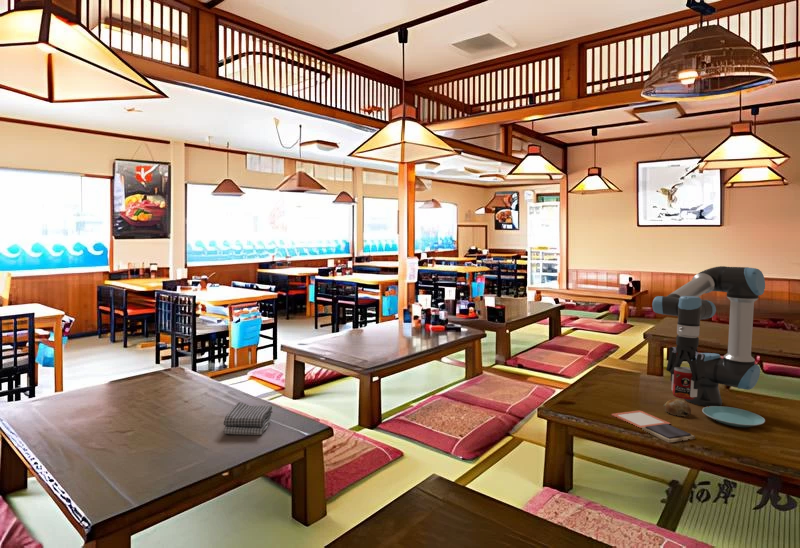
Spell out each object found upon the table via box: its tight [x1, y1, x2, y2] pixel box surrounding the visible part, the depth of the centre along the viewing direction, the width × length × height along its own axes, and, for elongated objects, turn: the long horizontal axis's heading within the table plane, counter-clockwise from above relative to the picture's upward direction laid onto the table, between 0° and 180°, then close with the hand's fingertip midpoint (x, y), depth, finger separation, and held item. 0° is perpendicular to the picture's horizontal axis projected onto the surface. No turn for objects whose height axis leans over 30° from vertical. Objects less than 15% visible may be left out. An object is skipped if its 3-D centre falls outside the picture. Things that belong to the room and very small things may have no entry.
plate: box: [701, 405, 766, 428], centre depth 207 cm, size 22×22×3 cm
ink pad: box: [641, 424, 696, 444], centre depth 191 cm, size 13×13×2 cm
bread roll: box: [663, 398, 692, 417], centre depth 216 cm, size 10×10×8 cm
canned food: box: [672, 366, 695, 400], centre depth 191 cm, size 8×8×11 cm
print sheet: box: [610, 409, 672, 429], centre depth 206 cm, size 16×16×1 cm
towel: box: [223, 401, 273, 436], centre depth 191 cm, size 15×18×8 cm
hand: (683, 393), depth 191 cm, fingers closed on canned food, 8 cm apart
